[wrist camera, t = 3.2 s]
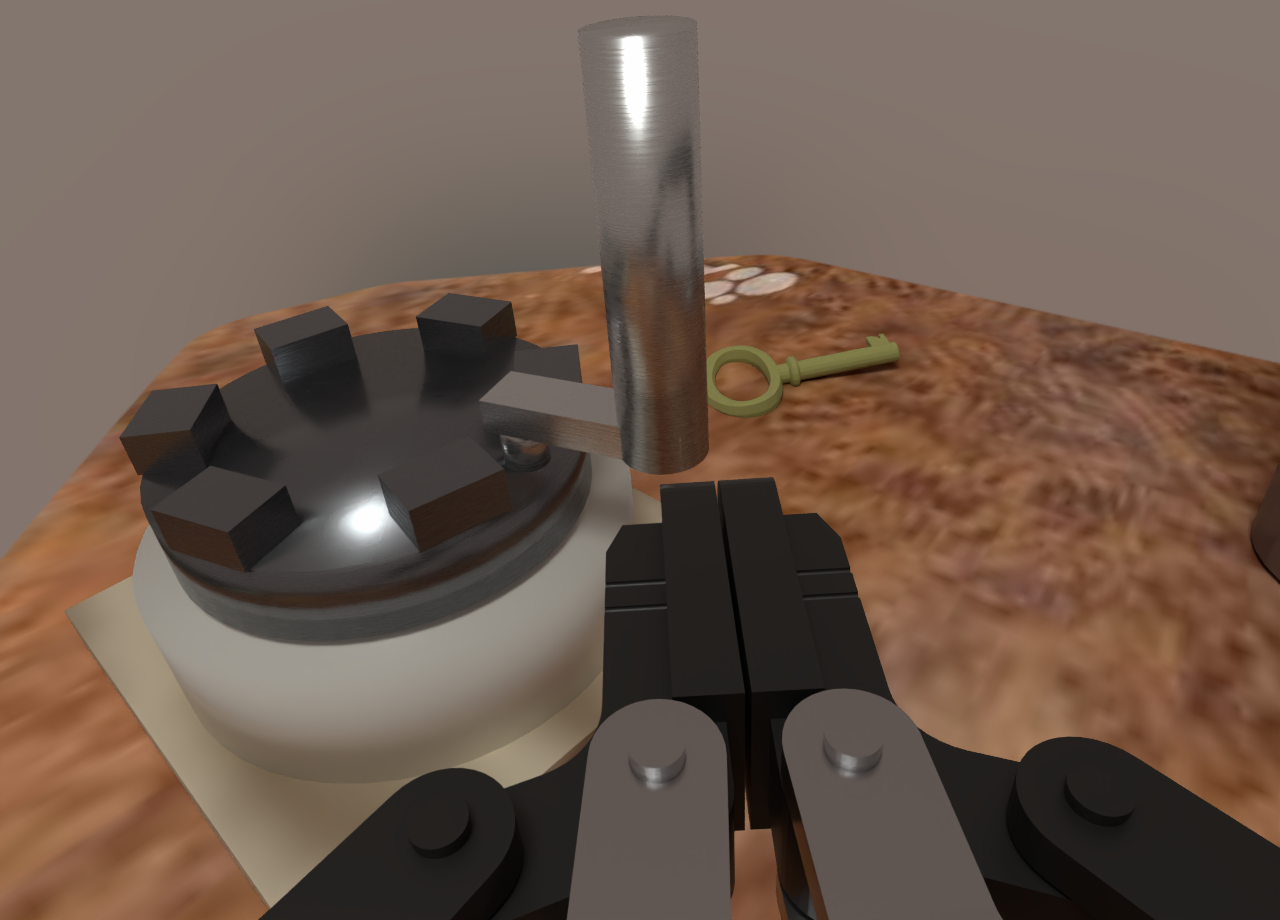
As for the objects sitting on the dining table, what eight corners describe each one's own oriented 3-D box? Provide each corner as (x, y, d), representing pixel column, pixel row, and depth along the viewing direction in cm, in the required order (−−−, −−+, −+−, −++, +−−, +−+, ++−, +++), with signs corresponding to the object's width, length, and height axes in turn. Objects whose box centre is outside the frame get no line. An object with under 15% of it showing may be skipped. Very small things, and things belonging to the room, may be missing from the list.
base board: (477, 429, 52) (470, 400, 50) (781, 601, 38) (782, 567, 37) (83, 643, 39) (63, 611, 38) (333, 1002, 26) (314, 970, 25)
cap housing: (465, 420, 49) (447, 339, 46) (732, 570, 37) (731, 475, 34) (111, 608, 38) (59, 518, 35) (334, 897, 27) (285, 799, 24)
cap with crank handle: (438, 350, 44) (353, -25, 34) (774, 518, 31) (788, 2, 22) (104, 506, 35) (-137, 56, 25) (390, 826, 22) (129, 179, 13)
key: (907, 375, 54) (910, 344, 53) (730, 432, 50) (730, 400, 49) (838, 330, 60) (840, 301, 58) (675, 378, 56) (673, 348, 55)
